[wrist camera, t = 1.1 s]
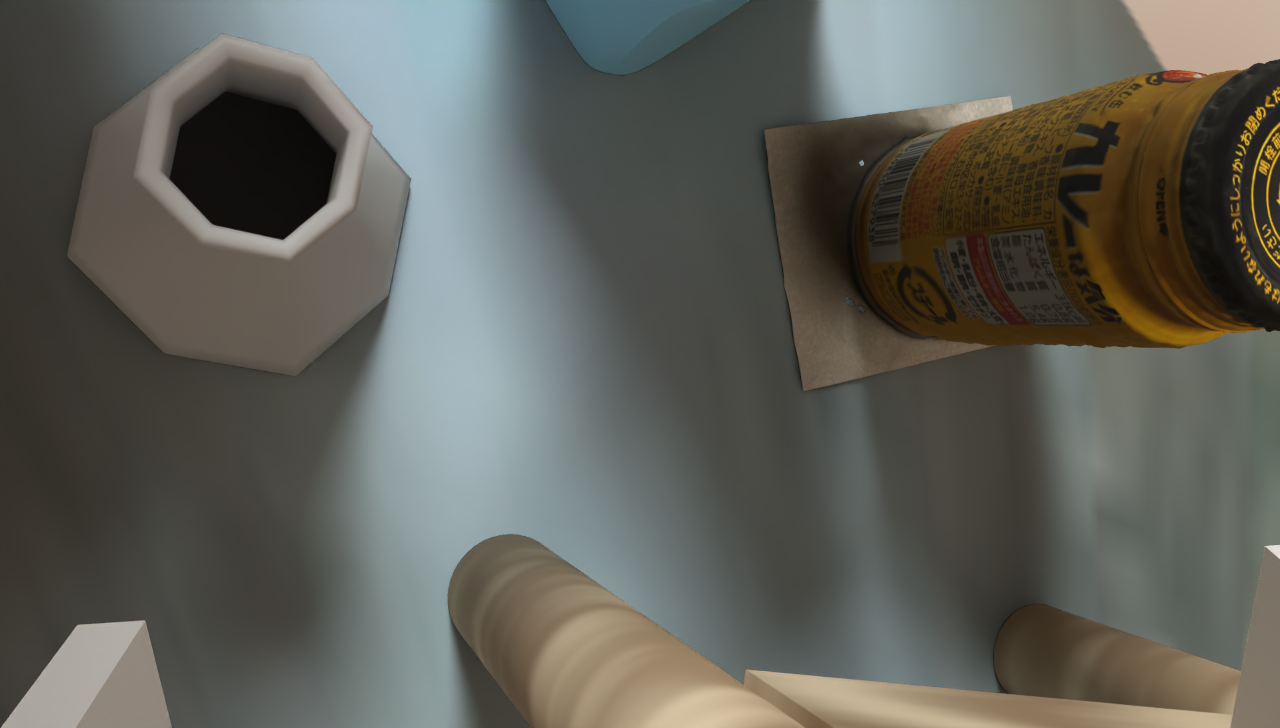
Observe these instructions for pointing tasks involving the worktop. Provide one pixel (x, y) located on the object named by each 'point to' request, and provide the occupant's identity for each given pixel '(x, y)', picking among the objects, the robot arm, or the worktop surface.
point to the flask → (240, 209)
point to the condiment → (1032, 222)
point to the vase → (635, 28)
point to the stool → (792, 703)
